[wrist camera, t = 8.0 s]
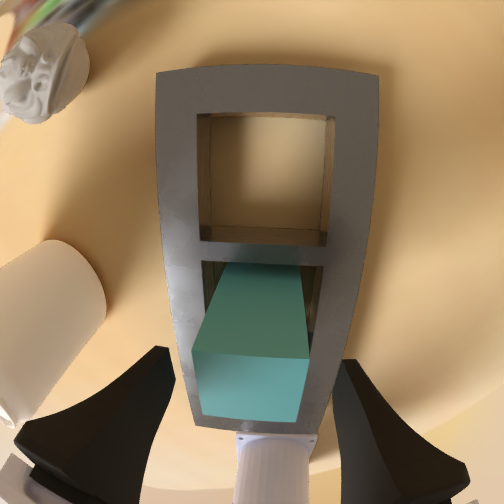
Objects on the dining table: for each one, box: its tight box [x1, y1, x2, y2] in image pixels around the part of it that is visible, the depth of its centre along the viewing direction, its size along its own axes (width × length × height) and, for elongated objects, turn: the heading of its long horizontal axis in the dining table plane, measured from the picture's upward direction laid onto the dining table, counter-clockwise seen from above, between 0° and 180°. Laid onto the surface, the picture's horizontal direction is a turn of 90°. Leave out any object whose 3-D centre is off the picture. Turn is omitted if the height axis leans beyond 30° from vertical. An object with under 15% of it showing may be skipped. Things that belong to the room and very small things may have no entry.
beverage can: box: [0, 240, 106, 428], centre depth 13 cm, size 8×8×12 cm
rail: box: [155, 64, 379, 434], centre depth 16 cm, size 24×10×2 cm, turn 0°
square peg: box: [191, 262, 310, 422], centre depth 13 cm, size 4×4×8 cm
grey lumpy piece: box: [0, 23, 90, 124], centre depth 9 cm, size 6×7×7 cm
